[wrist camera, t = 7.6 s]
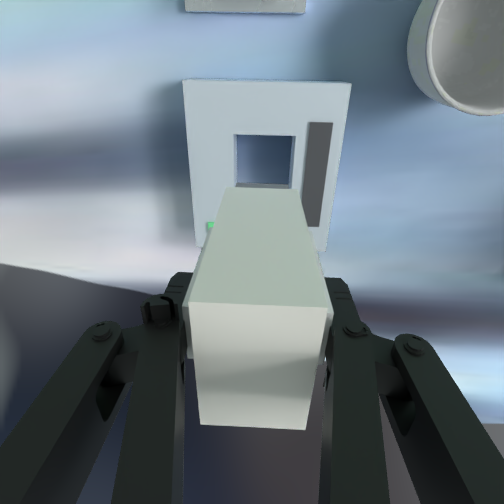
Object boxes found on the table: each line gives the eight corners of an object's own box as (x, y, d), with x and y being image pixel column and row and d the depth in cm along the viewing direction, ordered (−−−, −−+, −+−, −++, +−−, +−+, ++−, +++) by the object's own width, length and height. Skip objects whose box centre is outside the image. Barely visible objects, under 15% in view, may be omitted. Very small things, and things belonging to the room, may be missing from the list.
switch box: (341, 81, 30) (352, 83, 26) (320, 234, 38) (325, 253, 34) (192, 78, 30) (181, 80, 26) (202, 230, 38) (195, 248, 34)
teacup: (450, 127, 31) (502, 144, 24) (364, 60, 29) (396, 58, 22) (592, -34, 25) (717, -72, 18) (499, -138, 22) (602, -228, 15)
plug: (295, 178, 19) (328, 307, 9) (287, 261, 22) (305, 429, 12) (229, 176, 19) (188, 301, 9) (230, 259, 23) (200, 424, 12)
